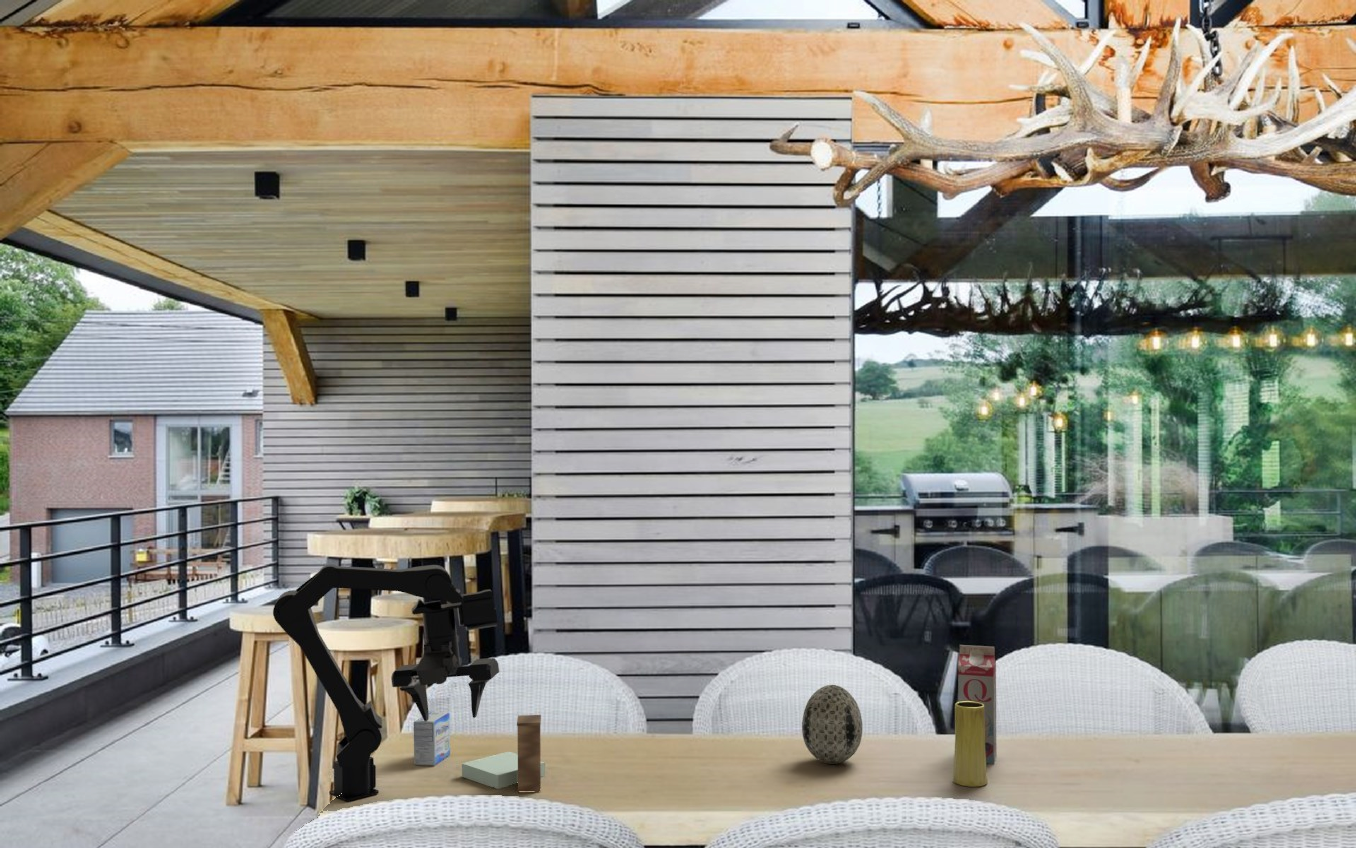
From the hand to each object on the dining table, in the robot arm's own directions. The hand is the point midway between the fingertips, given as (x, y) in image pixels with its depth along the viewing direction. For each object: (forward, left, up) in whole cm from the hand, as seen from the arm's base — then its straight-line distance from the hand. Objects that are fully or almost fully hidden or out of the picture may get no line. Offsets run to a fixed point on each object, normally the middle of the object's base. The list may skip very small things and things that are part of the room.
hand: (450, 719), depth 214 cm
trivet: (+10, -2, -12) cm, 16 cm away
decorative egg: (+59, -42, -13) cm, 74 cm away
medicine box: (+7, +17, -13) cm, 22 cm away
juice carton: (+81, -61, -13) cm, 103 cm away
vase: (+66, -68, -13) cm, 96 cm away
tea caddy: (+9, -11, -12) cm, 19 cm away
